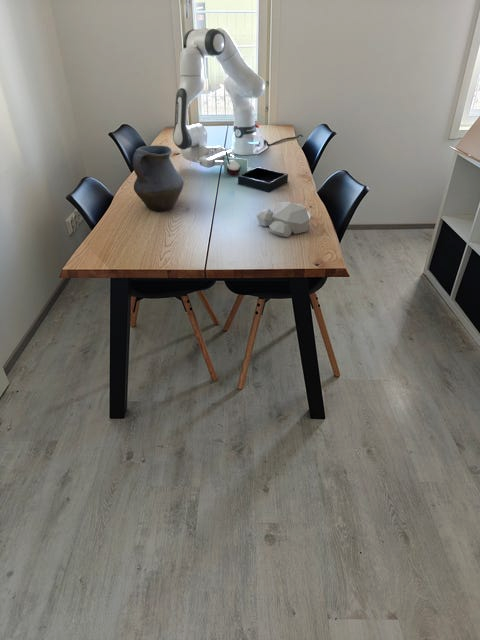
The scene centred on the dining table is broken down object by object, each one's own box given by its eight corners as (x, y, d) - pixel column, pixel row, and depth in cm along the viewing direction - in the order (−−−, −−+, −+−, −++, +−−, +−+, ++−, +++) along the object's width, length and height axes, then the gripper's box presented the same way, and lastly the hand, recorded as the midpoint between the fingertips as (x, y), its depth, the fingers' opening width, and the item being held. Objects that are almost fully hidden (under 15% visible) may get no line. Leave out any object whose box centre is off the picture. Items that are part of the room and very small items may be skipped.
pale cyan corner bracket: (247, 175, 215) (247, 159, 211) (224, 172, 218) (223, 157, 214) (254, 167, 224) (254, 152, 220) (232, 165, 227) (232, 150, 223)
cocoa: (241, 173, 218) (245, 149, 210) (240, 178, 213) (244, 154, 205) (222, 169, 217) (225, 145, 209) (221, 175, 212) (224, 150, 204)
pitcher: (195, 203, 187) (191, 142, 172) (163, 222, 172) (155, 157, 157) (157, 194, 196) (150, 135, 181) (124, 211, 181) (113, 149, 166)
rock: (283, 242, 157) (284, 217, 151) (249, 224, 170) (249, 200, 164) (319, 229, 166) (322, 205, 160) (285, 212, 179) (286, 189, 173)
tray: (257, 175, 215) (257, 166, 213) (287, 182, 207) (288, 173, 204) (237, 184, 206) (237, 175, 203) (268, 192, 197) (269, 183, 194)
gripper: (193, 154, 210) (215, 159, 203) (220, 144, 223) (242, 149, 216) (194, 167, 214) (215, 173, 207) (221, 157, 227) (242, 162, 220)
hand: (229, 161), depth 212 cm, fingers open, 8 cm apart
